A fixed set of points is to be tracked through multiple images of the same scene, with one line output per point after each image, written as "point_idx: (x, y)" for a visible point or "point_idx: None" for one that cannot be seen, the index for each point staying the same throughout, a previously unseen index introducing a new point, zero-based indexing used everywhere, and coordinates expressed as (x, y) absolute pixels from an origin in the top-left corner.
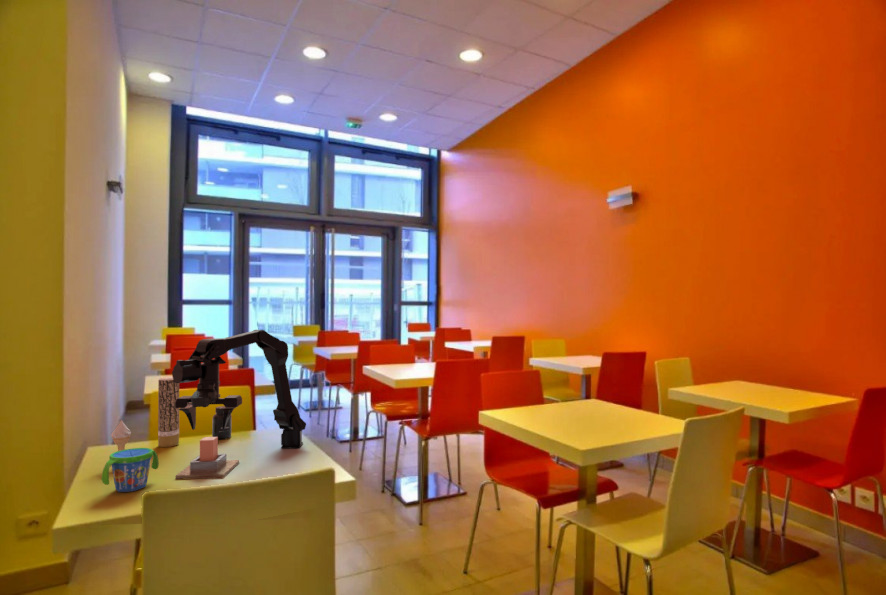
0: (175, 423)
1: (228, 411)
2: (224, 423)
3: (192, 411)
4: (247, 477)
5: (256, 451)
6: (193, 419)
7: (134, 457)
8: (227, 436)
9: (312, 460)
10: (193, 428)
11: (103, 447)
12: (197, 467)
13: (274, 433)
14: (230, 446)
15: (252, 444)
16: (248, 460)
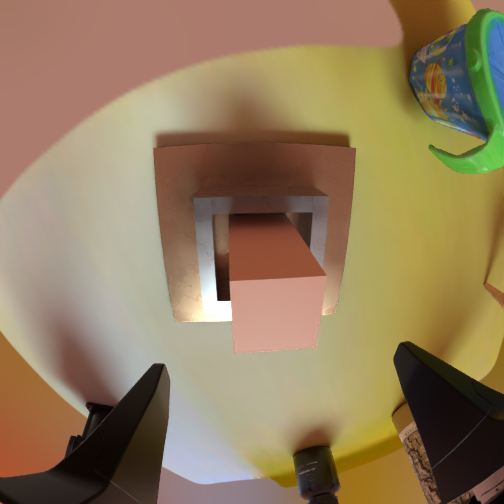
0: (415, 446)
1: (29, 476)
2: (134, 395)
3: (472, 451)
4: (74, 156)
5: (180, 401)
6: (437, 402)
7: (489, 10)
8: (298, 456)
9: (2, 311)
10: (405, 345)
11: (486, 371)
12: (288, 189)
13: (207, 470)
14: (273, 427)
15: (221, 436)
16: (158, 338)
